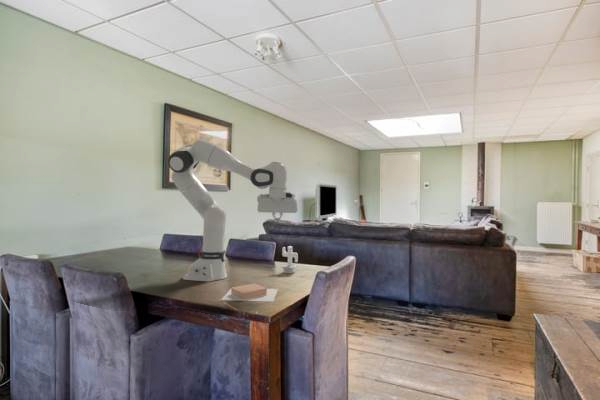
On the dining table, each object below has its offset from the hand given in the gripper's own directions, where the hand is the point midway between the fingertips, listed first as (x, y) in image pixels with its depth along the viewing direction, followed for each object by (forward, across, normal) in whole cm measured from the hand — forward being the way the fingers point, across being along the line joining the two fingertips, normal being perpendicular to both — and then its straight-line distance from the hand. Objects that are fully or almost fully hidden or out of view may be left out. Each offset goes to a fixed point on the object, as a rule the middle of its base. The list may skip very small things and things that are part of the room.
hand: (277, 221), depth 167 cm
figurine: (+31, +5, +23) cm, 39 cm away
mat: (+31, -9, -22) cm, 39 cm away
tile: (+29, -5, -19) cm, 35 cm away
